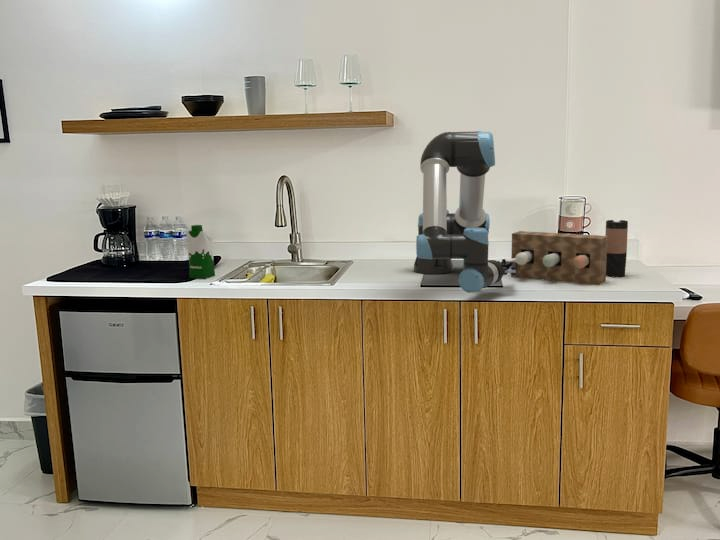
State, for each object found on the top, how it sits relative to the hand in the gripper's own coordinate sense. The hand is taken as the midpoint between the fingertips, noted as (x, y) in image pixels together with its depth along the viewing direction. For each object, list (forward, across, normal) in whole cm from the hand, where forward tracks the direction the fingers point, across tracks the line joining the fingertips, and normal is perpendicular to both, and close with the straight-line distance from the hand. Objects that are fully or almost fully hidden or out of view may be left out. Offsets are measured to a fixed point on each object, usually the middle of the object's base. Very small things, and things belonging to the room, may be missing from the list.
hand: (515, 262), depth 256 cm
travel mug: (+32, +26, -8) cm, 42 cm away
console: (+16, +10, -8) cm, 21 cm away
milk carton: (-41, -110, -8) cm, 117 cm away
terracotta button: (+12, +20, -2) cm, 24 cm away
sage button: (+10, +10, -2) cm, 14 cm away
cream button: (+10, 0, -2) cm, 10 cm away
